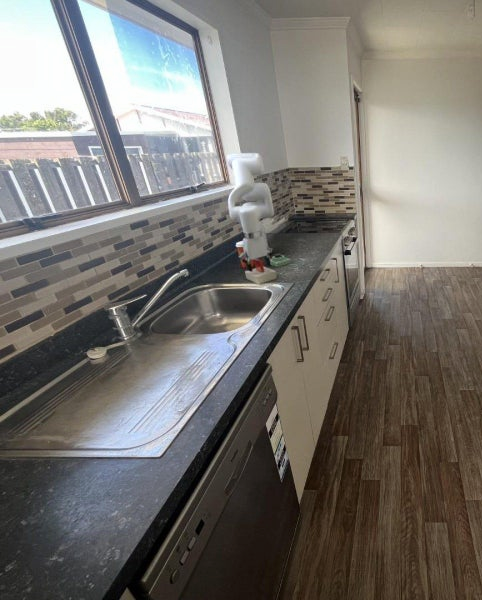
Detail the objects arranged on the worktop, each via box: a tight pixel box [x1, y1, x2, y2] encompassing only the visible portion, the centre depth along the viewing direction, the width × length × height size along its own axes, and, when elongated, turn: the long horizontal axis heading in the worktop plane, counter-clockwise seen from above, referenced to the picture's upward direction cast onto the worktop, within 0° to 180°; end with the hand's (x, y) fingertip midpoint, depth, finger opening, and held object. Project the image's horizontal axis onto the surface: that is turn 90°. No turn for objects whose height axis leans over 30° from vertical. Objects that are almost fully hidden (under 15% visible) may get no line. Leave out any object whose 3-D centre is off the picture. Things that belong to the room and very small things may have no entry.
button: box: [274, 253, 282, 258], centre depth 187 cm, size 4×4×2 cm
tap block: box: [244, 265, 278, 285], centre depth 167 cm, size 12×10×4 cm
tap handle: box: [253, 258, 265, 273], centre depth 165 cm, size 6×2×6 cm, turn 51°
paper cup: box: [235, 240, 255, 269], centre depth 182 cm, size 8×8×14 cm
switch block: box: [269, 254, 292, 268], centre depth 188 cm, size 10×9×4 cm
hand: (259, 268), depth 166 cm, fingers open, 9 cm apart
